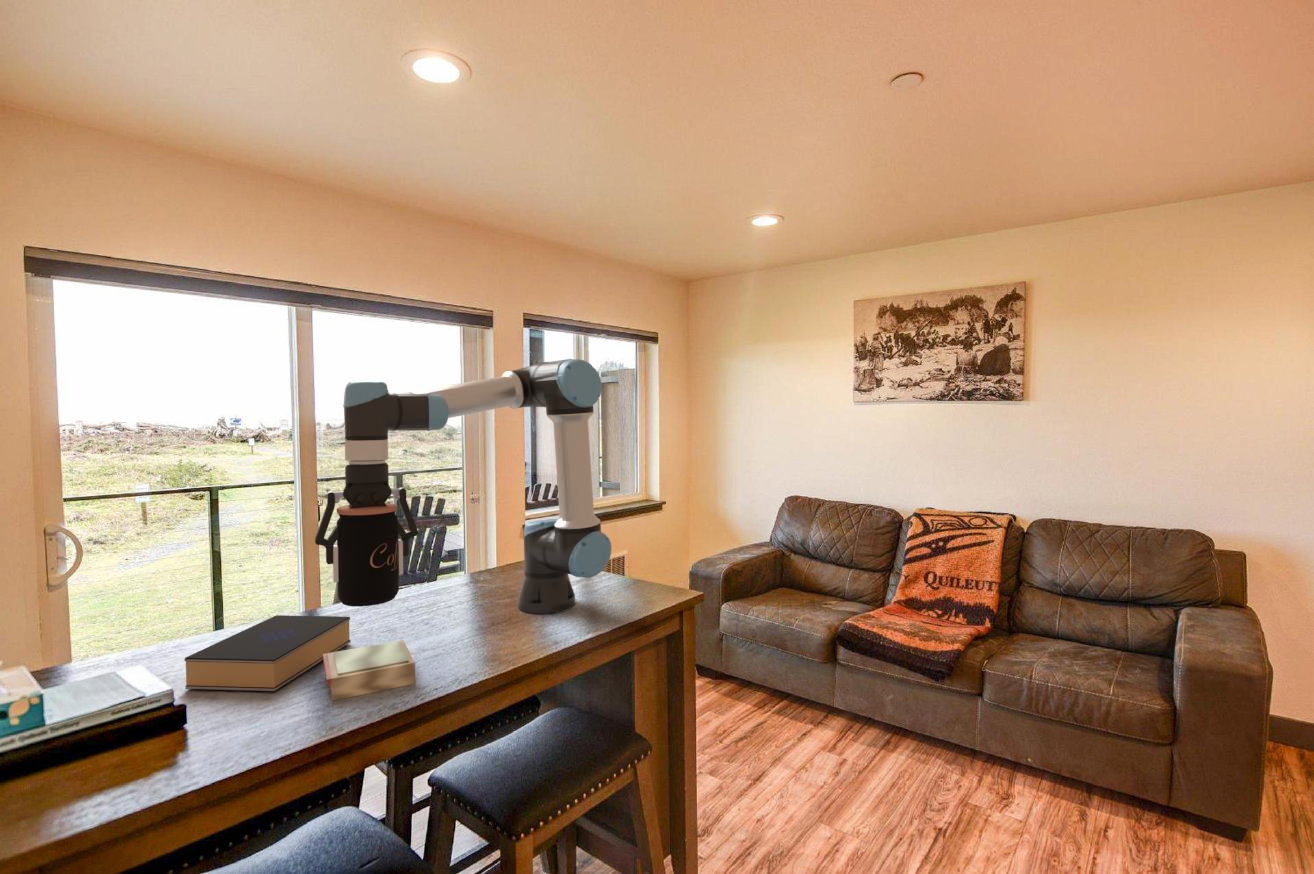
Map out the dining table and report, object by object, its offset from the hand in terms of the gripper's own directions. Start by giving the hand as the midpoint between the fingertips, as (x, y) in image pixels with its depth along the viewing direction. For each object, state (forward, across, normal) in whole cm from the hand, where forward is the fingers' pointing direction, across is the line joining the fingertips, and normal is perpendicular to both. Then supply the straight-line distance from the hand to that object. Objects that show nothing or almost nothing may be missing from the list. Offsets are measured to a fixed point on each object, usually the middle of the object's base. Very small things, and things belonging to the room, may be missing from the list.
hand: (368, 576), depth 120 cm
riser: (+20, 0, 0) cm, 20 cm away
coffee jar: (+5, 0, 0) cm, 5 cm away
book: (+20, +16, -17) cm, 31 cm away
